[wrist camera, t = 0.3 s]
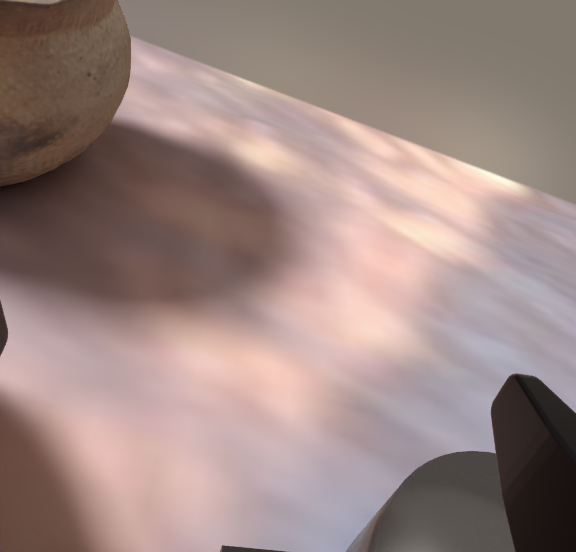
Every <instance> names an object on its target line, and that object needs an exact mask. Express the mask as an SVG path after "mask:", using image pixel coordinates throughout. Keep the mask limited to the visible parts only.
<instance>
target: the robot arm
mask: <svg viewBox="0 0 576 552" xmlns="http://www.w3.org/2000/svg"><path fill="white" fill-rule="evenodd" d="M7 339H8V328H7V324H6V320H5V316H4V312H3V308H2V305H1V301H0V356H1V354H2V352H3V349H4V347H5V345H6V342H7ZM491 419H492V427H493V434H494V442H495V450H496V457H497V465H498V473H499V481H500V487H501V493H502V498H503V503H504V507H505V512H506V516H507V520H508V524H509V528H510V532H511V537H512V541H513V545H514V549H515V552H576V413H575V412H574V411H573V410H572V409H571V408H570V407H568V406H567V405H566V404H565V403H564V402H563V401H562V400H561V399H560V398H559V397H558V396H557V395H556V394H555V393H554V392H552V391H551V390H550V389H549V388H548V387H547V386H546V385H545V384H544V383H543V382H542V381H541V380H539V379H538V378H537V377H534V376H530V375H523V374H512V375H511V376H509V377H508V379H507V380H506V382H505V383H504V385H503V387H502V388H501V390H500V391H499V393H498V394H497V396H496V398H495V399H494V401H493V403H492V407H491Z"/></svg>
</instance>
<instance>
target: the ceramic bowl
mask: <svg viewBox="0 0 576 552" xmlns="http://www.w3.org/2000/svg"><path fill="white" fill-rule="evenodd" d="M130 68H131V38H130V34H129V30H128V27H127V24H126V21H125V17H124V15H123V12H122V10H121V7H120V5H119V3H118V0H0V186H5V185H12V184H16V183H20V182H24V181H27V180H30V179H33V178H36V177H38V176H40V175H42V174H45V173H47V172H49V171H52V170H54V169H56V168H58V167H59V166H61V165H62V164H64V163H66V162H68V161H70V160H72V159H74V158H75V157H77V156H78V155H80V154H81V153H83V152H84V151H85V150H86V149H88V148H89V147H90V146H91V145H92V144H93V143H94V142H95V140H96V139H97V138H98V137H99V136H100V135H101V134H102V133H103V132H104V130H105V129H106V128H107V127H108V125H109V124H110V122H111V120H112V119H113V117H114V115H115V113H116V111H117V109H118V107H119V106H120V104H121V102H122V99H123V97H124V95H125V92H126V89H127V87H128V83H129V78H130Z"/></svg>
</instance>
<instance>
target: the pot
mask: <svg viewBox="0 0 576 552" xmlns="http://www.w3.org/2000/svg"><path fill="white" fill-rule="evenodd" d="M220 552H284V551H274V550H264V549H253V548H243V547H233V546H223V545H222V547H221V550H220ZM346 552H515V549H514V545H513V541H512V537H511V532H510V528H509V524H508V520H507V516H506V512H505V507H504V503H503V498H502V493H501V487H500V481H499V473H498V465H497V457H496V454H495V453H490V452H478V451H467V452H456V453H451V454H447V455H443V456H440V457H438V458H435V459H433V460H431V461H428V462H427V463H425V464H424V465H422V466H421V467H419V468H417V469H416V470H415V471H414V472H413V473H412V474H411V475H410V476H409V477H407V478H406V479H405V480H404V482H403V483H402V484H401V485H400V486H399V488H398V489H397V490H396V491H395V492H394V494H393V495H392V496H391V497H390V498H389V499H388V501H387V502H386V503H385V504H384V505H383V507H382V508H381V509H380V510H379V511H378V513H377V514H376V515H375V516H374V517H373V519H372V520H371V521H370V522H369V523H368V524H367V526H366V527H365V528H364V529H363V530H362V532H361V533H360V534H359V535H358V536H357V538H356V539H355V540H354V542H353V543H352V544H351V545H350V547H349V548H348V550H347V551H346Z"/></svg>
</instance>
